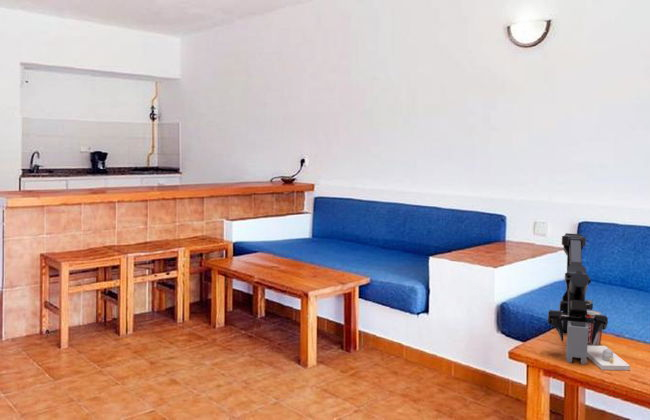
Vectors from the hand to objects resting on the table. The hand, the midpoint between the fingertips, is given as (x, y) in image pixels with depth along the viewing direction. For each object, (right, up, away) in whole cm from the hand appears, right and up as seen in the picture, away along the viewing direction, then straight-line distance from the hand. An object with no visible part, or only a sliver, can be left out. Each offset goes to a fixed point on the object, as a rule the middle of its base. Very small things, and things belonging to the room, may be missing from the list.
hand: (577, 342), depth 194 cm
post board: (+10, -7, +3) cm, 12 cm away
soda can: (+12, -5, +17) cm, 22 cm away
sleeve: (0, -7, +2) cm, 7 cm away
